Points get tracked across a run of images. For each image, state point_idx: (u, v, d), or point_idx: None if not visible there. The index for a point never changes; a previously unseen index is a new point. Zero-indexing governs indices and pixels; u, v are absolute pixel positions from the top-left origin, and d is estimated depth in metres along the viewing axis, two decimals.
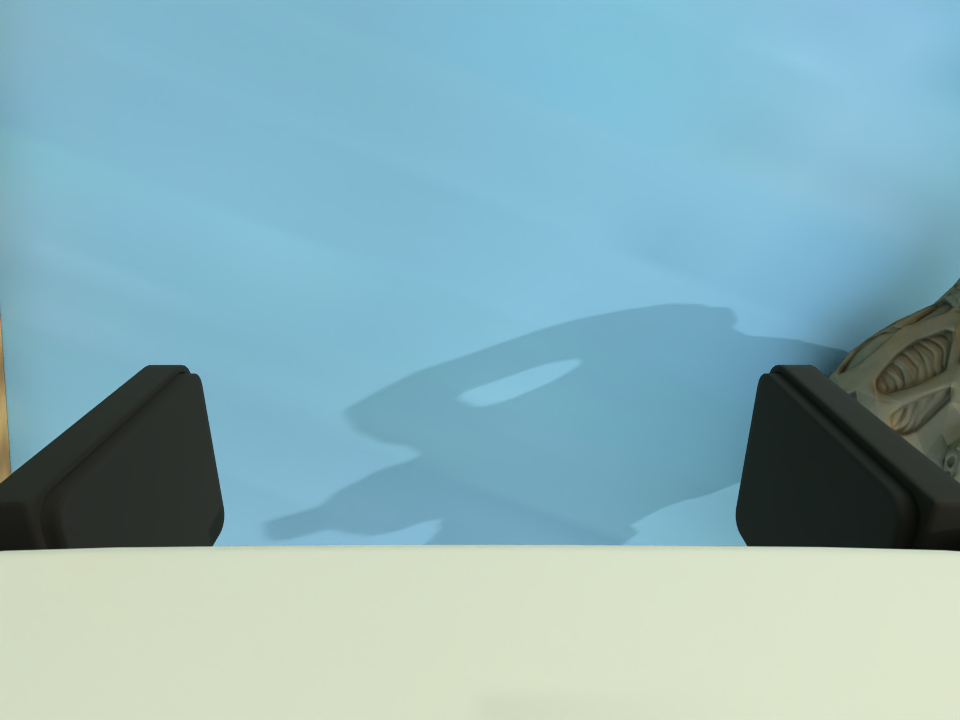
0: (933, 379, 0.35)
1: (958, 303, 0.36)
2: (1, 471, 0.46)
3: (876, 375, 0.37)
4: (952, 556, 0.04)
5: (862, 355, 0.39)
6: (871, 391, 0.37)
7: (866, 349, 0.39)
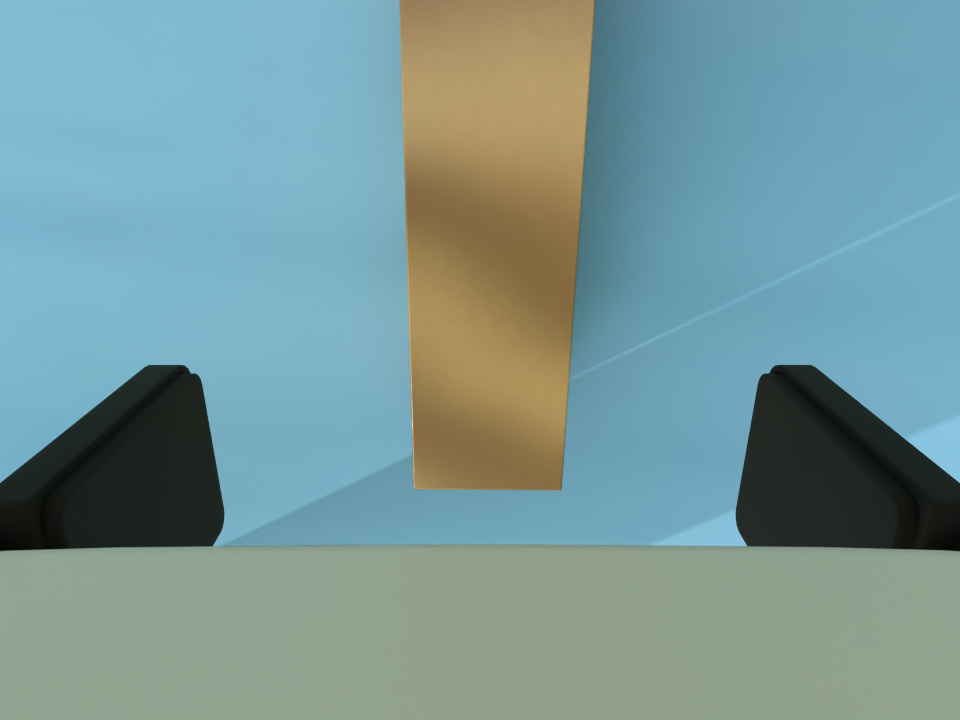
0: None
1: None
2: None
3: None
4: (952, 555, 0.04)
5: None
6: None
7: None
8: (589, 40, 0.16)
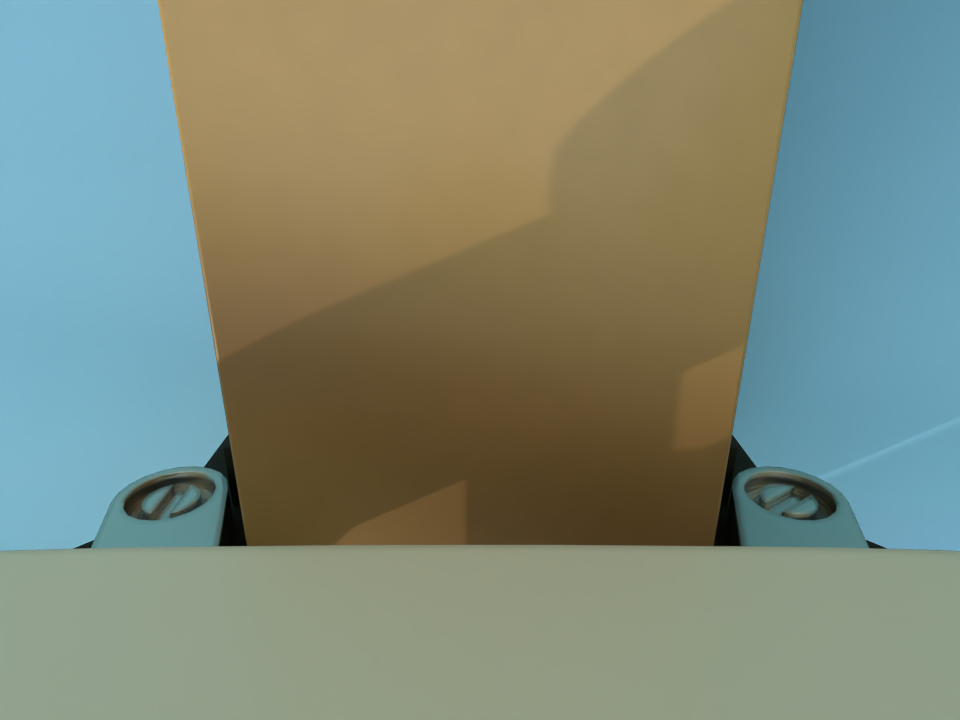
0: None
1: None
2: None
3: None
4: (952, 556, 0.04)
5: None
6: None
7: None
8: None
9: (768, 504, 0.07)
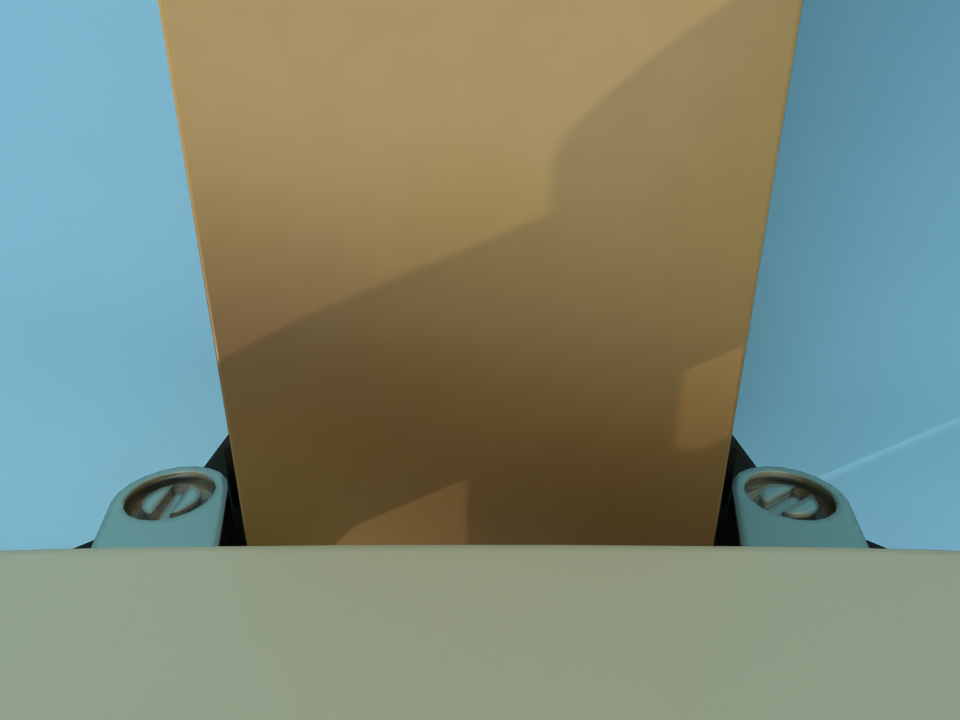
0: None
1: None
2: None
3: None
4: (952, 555, 0.04)
5: None
6: None
7: None
8: None
9: (768, 504, 0.07)
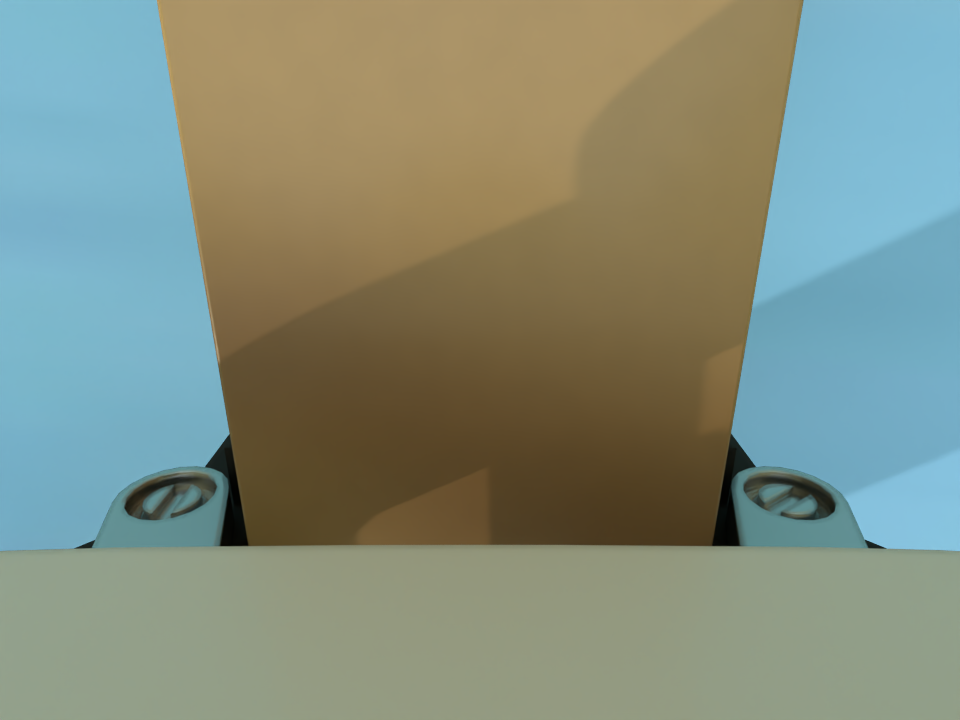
0: None
1: None
2: None
3: None
4: (952, 556, 0.04)
5: None
6: None
7: None
8: None
9: (767, 504, 0.07)
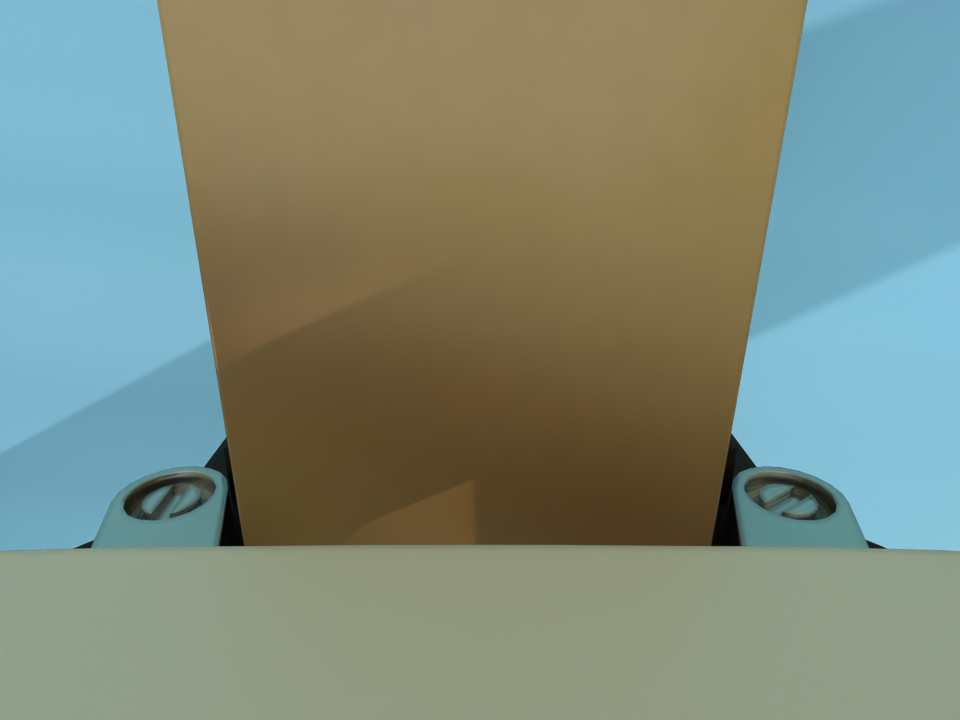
0: None
1: None
2: None
3: None
4: (952, 556, 0.04)
5: None
6: None
7: None
8: None
9: (768, 504, 0.07)
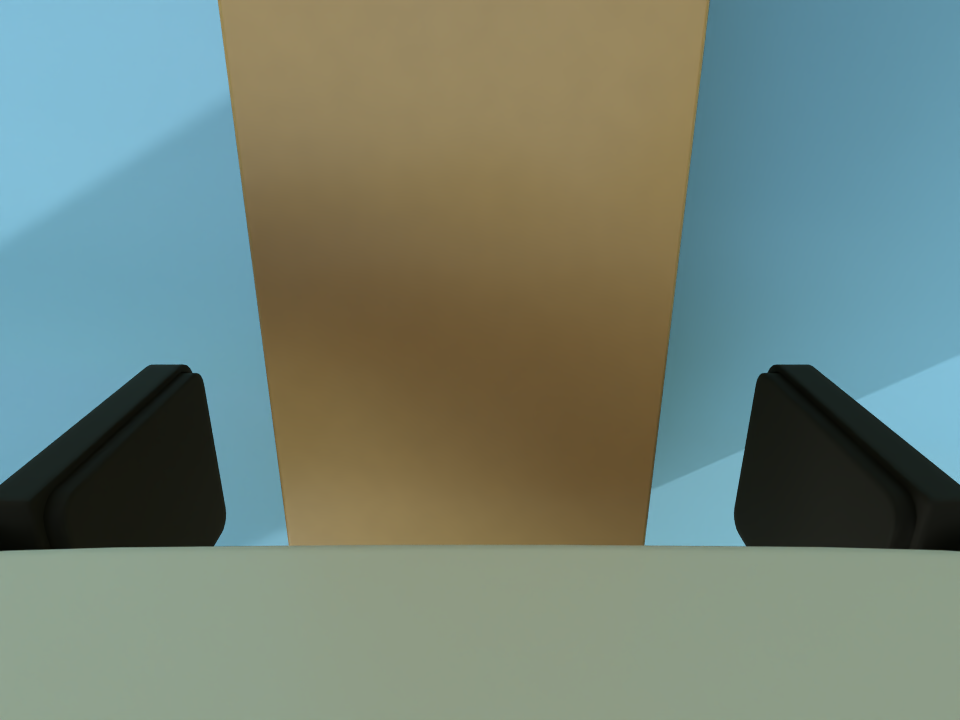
0: None
1: None
2: None
3: None
4: (952, 556, 0.04)
5: None
6: None
7: None
8: None
9: None
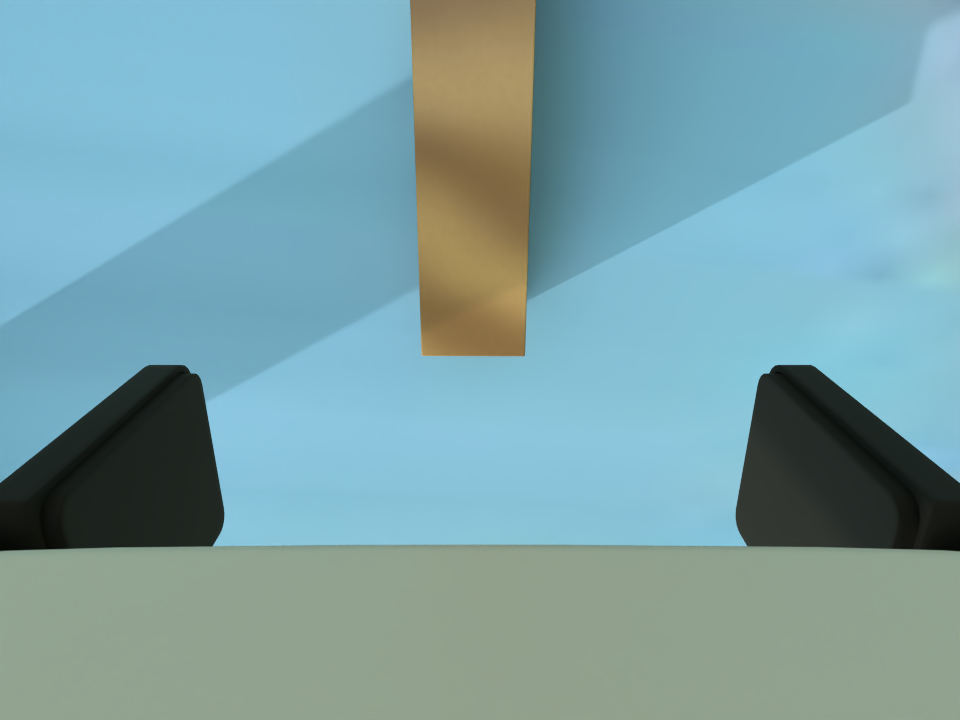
0: None
1: None
2: None
3: None
4: (952, 556, 0.04)
5: None
6: None
7: None
8: (532, 42, 0.25)
9: None
